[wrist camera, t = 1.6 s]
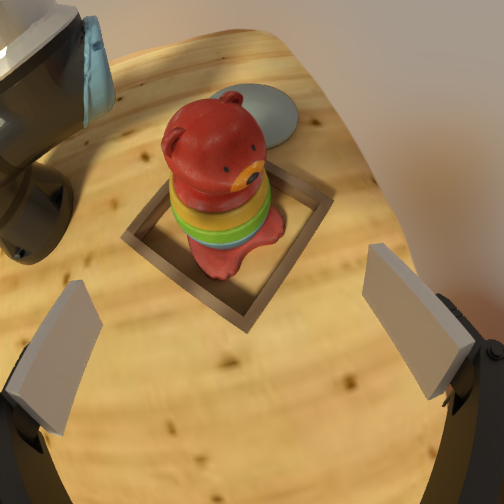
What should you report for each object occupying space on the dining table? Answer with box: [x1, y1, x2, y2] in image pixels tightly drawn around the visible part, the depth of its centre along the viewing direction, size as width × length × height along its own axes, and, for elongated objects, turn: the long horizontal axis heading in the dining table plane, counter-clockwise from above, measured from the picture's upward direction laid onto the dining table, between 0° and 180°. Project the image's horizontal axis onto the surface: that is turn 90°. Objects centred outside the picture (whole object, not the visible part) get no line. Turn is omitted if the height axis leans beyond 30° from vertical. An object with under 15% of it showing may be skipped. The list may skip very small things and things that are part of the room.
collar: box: [120, 160, 334, 334], centre depth 31 cm, size 17×17×2 cm
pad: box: [209, 84, 298, 150], centre depth 37 cm, size 14×14×1 cm
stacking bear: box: [161, 91, 285, 281], centre depth 23 cm, size 11×10×18 cm
